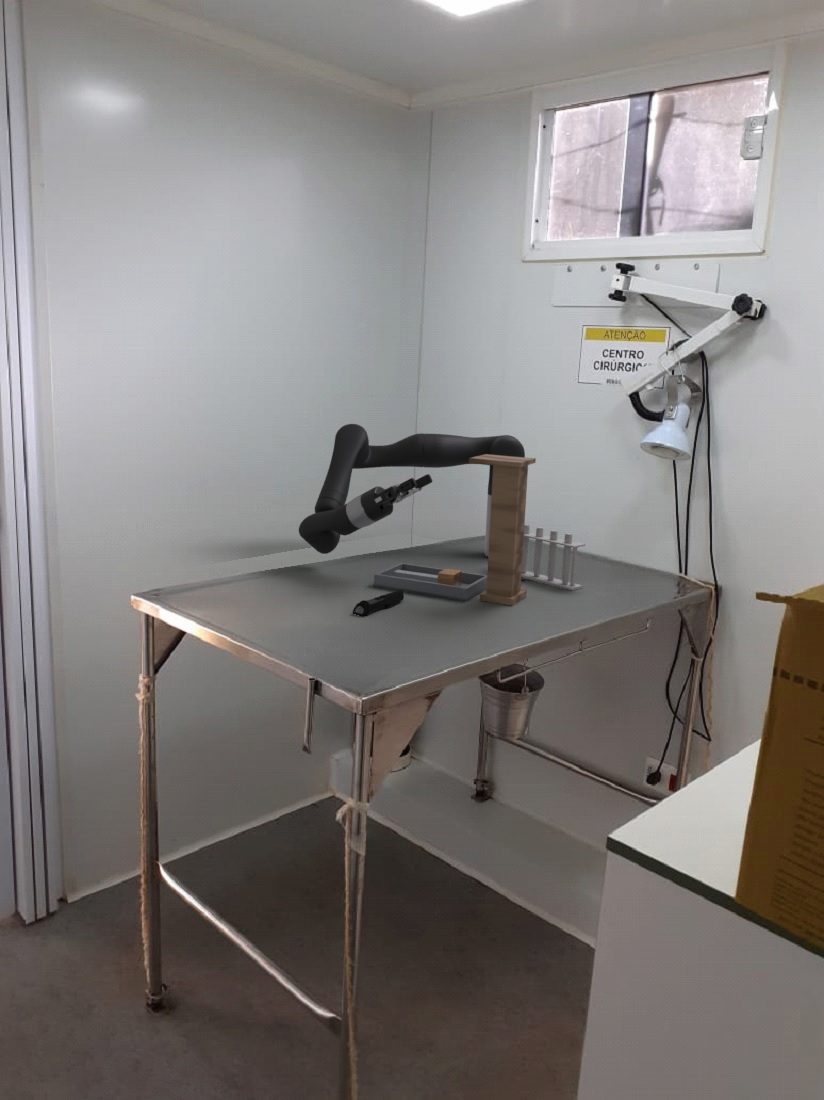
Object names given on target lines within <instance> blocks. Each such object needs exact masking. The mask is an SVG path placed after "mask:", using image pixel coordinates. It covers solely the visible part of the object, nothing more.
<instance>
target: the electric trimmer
mask: <svg viewBox="0 0 824 1100" xmlns="http://www.w3.org/2000/svg"><path fill="white" fill-rule="evenodd" d="M404 596H405V595H404V591H402V590H394V591H392V592H389V593H386V594H383V595H382V594H381V595H380V596H377V597H373V598H371V599H368V600H365V599H364V600H361V601H359V602H358V603H356V605H355V606H354V607H353V609H352V615H353V614H356V615H355V616H357V615H359V616H358V617H361V616H363V617H362V618H364V617H365V616H367V617H369V615H370V614H371V613H374V612H376V611H379V610H381V609H389V608H391V607H392V606H393V607H394V606H395V605H397V604H398V603H400V602H401V601H403V600H404V598H405V597H404Z"/></svg>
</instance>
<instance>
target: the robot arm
mask: <svg viewBox="0 0 824 1100" xmlns="http://www.w3.org/2000/svg"><path fill="white" fill-rule="evenodd" d="M369 443H370V440H369V436H368V432H367V430H366V429H365V428H364V427H363V426H362V425H359V424H357V423H348V424H347V423H346V424H345V425H343V426H341V427H340V428H339V429H338V430H337V432H336V433H335V437H334V443H333V451H332V455H331V459H330V464H329V467H328V470H327V473H326V476H325V478H324V479H325V480H323V481H324V482H323V485H322V487H321V490H320V493H318V494H319V495H318V497H317V500H316V503H315V505H314V513H312V514H310V515H308V516H306V517H304V519H303V520H302V521H301V522H300V524H299V526H298V534H299V536H300V537H301V538H302V539H303V541H305V542H306V543H307V544H308V545H310V546H311V547H312V548H313V549H314V550H316V551H317V552H318V553H319V554H323V555H324V554H325V555H327V554H330V553H332V552H333V551H334V550H335V549H336V548H337V546H338V544H339V542H340V538H341V536H349V535H351V534H353V533H355V532H357V531H359V530H361V529H362V528H365V527H368V526H371V525H373V524H375V523H377V522H378V521H380V520H383V519H385V518H386V517H388V516H391V515H392V513H393V511H394V505H395V504H398V503H401V502H402V501H403V500H405V499H407V498H409V497H411V496H412V495H414V494H416V493H417V492H420V491H422V490H423V488H424V487H426V486H428V485H429V484H432V483H433V479H432V476H431V475H430V473H427V474H424V475H423V476H421V477H419V478H418V479H415V478H414V477H411V478H408V479H407V480H405V481H403V482H401V483H399V484H394V485H391V486H389V487H386V488H384V487H382V486H378V485H377V486H375V487H373V488H370V489H369V490H367V491H365V492H363V493H361V494H360V495H357V496H356V497H354V498H353V499H351V500H350V501H349V502H347V499H348V495H349V491H350V483H351V479H352V475H353V474H352V473H353V469H354V470H356V469H359V470H360V469H375V468H386V467H387V468H388V467H389V468H390V467H392V468H393V467H395V468H397V467H398V468H401V467H404V468H407V467H408V468H410V467H411V468H413V467H415V468H430V469H431V468H433V469H435V468H449V467H450V468H451V467H457V466H464V465H479V464H478V463H469V458H472V457H476V456H480V455H485V454H489V455H501V456H513V457H525V458H526V451H525V448H524V445H523V444H522V442H521V441H520V440H519V439H518V438H517V437H516V436H512V435H509V434H503V435H501V434H500V435H494V436H493V435H492V436H482V437H481V436H480V437H472V436H471V437H469V436H462V435H461V436H460V435H454V434H446V433H445V434H443V433H442V434H441V433H422V432H421V433H415V434H412V435H409V436H406V437H405V438H403V439H401V440H398V441H396V442H393V443H391V444H387V445H385V444H384V445H370V444H369ZM481 465H483V466H489V472H488V473H489V475H488V483H487V484H488V485H487V497H486V498H487V503H486V519H485V521H486V522H485V523H486V524H485V537H484V538H485V539H484V556H485V555H486V556H485V557H487V556H488V555H489V536H490V517H491V498H492V478H493V465H489V464H481ZM346 502H347V503H346Z"/></svg>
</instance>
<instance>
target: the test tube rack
mask: <svg viewBox="0 0 824 1100" xmlns="http://www.w3.org/2000/svg"><path fill="white" fill-rule="evenodd" d="M558 533H559V532H558V530H556V529H552V530H550V532H549V535H545V534H544V527H543V526H537V527H536V529H535V532H531V531H530V524H528V523H525V524H524V541H523V557H522V573H521V577H523V578H522V579H525V578H527V579H526V580H529V579H530V580H529V581H532V580H534V581H533V582H536V581H538V582H537V583H540V582H541V583H540V584H543V583H545V584H544V585H547V584H549V585H548V586H551V585H552V586H551V587H555V586H557V587H556V588H558V587H560V588H559V589H562V588H564V589H563V590H566V589H568V590H567V591H569V590H573V591H577V590H581V589H583V585H581V584H579V583H575V579H576V578H575V577H576V565H577V551H578V548H580V547H586V543H582V542H576V541H573V533H570V532H565V533H564V539H563V538H558ZM529 539H533V540H535V542H534V543H535V544H534V560H533V561H534V562H533V572H532V571H529V570H528V557H529V545H530V543H529V541H530V540H529ZM543 542H547V543H549V548H548V563H547V575H544V574H541V571H542V556H543ZM558 545H559V546H563V556H562V557H563V558H562V569H561V570H562V572H561V579H559V578H556V577H555V575H556V574H555V573H556V560H557V546H558ZM571 555H572V558H571ZM571 559H572V564H571ZM570 569H571V575H570ZM570 576H571V577H570ZM569 580H570V581H569ZM580 588H581V589H580ZM576 589H577V590H576Z"/></svg>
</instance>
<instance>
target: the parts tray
mask: <svg viewBox="0 0 824 1100" xmlns="http://www.w3.org/2000/svg"><path fill="white" fill-rule="evenodd" d="M444 569H445V568H439V567H433V566H426V565H420V564H418V565H417V564H412V563H405V562H400V563H398V564H395V565H393V566H390V567H388V568H386V569H384V570H382V571H378V572H377V573H374V575H373V579H374V580H373V587H375V588H380V589H387V590H393V591H398V590H402V591H403V593H404V592H406V593H411V594H416V595H424V596H429V597H435V598H441V599H447V600H454V601H459V600H460V601H459V602H465V601H466V602H468V601H470V600H471V599H473V598H475V597H477V596H478V595H480V594H481V593H483V592H484V590H485V591H486V590H487V574H480V573H473V572H467V571H466V572H465V571H462V579H461V587H459V586H452V585H446V584H439V583H433V582H426V581H420V580H413V579H407V578H401V577H394V571H396V570H404V571H411V572H418V573H425V574H432V575H438V573H439V572H441V571H443V570H444ZM474 596H475V597H474ZM469 599H470V600H469Z"/></svg>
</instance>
